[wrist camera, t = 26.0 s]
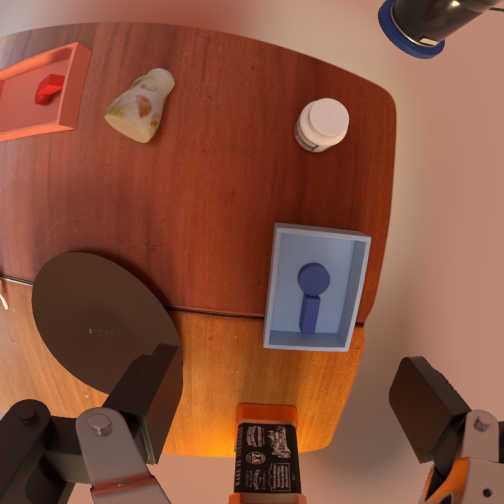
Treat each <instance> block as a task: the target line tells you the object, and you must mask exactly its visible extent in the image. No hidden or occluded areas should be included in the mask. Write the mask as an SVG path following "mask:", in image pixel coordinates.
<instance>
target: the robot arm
mask: <svg viewBox="0 0 504 504" xmlns="http://www.w3.org/2000/svg"><path fill="white" fill-rule="evenodd" d="M501 1H503V0H397V1H396V2H395V3H394V4H393V5H392V6H391V8H390V10H389V16H390V20H391V22H392V24H393V26H394V27H395V29H396V30H397V31H398V32H399V33H400V34H401V35H402V36H403V37H404V38H405V39H406V40H408V41H409V42H411V43H412V44H414V45H416V46H419V47H422V48H433V47H435V46H436V45H438V44H439V43H440V42H441V41H442V40H444V39H445V38H447V37H448V36H450V35H451V34H452V33H454V32H455V31H457V30H458V29H459V28H461V27H463V26H464V25H466V24H467V23H469V22H470V21H471V20H473V19H474V18H476V17H478V16H479V15H481V14H482V13H484V12H485V11H487V10H495V11H502V12H504V9H500V8H493V6H494V5H496V4H498V3H499V2H501ZM182 389H183V372H182V350H181V347H180V346H175V345H169V344H163V343H159V344H158V345H157V347H156V348H155V350H154V351H153V353H152V355H151V356H150V355H145V354H143V355H141V356H139V357H138V358H136V359H135V360H133V361H132V362H131V364H130V365H129V366H128V368H127V369H126V372H124V374H123V375H122V377H121V380H119V381H118V383H117V384H116V386H115V387H114V389H113V390H112V392H111V393H110V395H109V396H108V398H107V399H106V401H105V402H104V404H103V405H102V407H96V408H91V409H88V410H86V411H84V412H83V413H82V414H80V416H79V417H78V418H66V417H58V416H51V414H50V412H49V409H48V408H47V406H46V405H45V404H44V403H42V402H40V401H38V400H33V399H26V400H22V401H19V402H17V403H15V404H14V405H13V406H12V407H11V408H10V409H9V411H8V412H7V413H6V414H5V416H4V417H3V418H2V419H1V420H0V504H67V502H68V499H69V497H70V495H71V493H72V490H73V488H74V486H75V484H76V483H84V484H91V485H92V488H91V489H90V491H91V495H92V499H93V501H94V504H171V502H170V500H169V499H168V497H167V496H166V494H165V492H164V491H163V489H162V488H161V486H160V484H159V482H158V481H157V479H156V478H155V476H153V475H151V473H150V471H149V470H148V468H147V466H146V463H147V464H151V465H155V466H157V464H158V461H159V458H160V455H161V452H162V449H163V446H164V444H165V441H166V438H167V435H168V432H169V429H170V427H171V424H172V421H173V418H174V415H175V412H176V410H177V407H178V404H179V401H180V398H181V395H182ZM389 402H390V405H391V407H392V409H393V411H394V413H395V415H396V417H397V419H398V421H399V423H400V424H401V426H402V428H403V430H404V432H405V434H406V436H407V438H408V440H409V442H410V444H411V446H412V448H413V450H414V452H415V454H416V456H417V458H418V460H419V463H420V464H422V463H426V462H429V461H433V462H434V464H433V466H432V467H431V469H430V471H429V474H428V477H427V480H426V483H425V487H424V489H423V492H422V495H421V498H420V500H419V503H418V504H504V421H503V422H502V421H501V422H497V420H496V418H495V417H494V416H493V415H492V414H490V413H489V412H486V411H484V410H473V411H472V410H471V409H470V407H469V406H468V405H467V404H466V402H465V401H464V400H463V399H462V397H461V396H460V395H459V394H458V393H457V391H456V390H454V388H453V386H452V385H451V384H449V382H448V380H447V379H446V378H445V377H444V376H443V375H442V374H441V373H440V372H438V371H437V370H435V369H434V368H432V367H431V365H430V364H429V363H428V362H427V360H426V359H425V358H424V357H422V356H416V357H405V358H403V359H402V360H401V362H400V365H399V368H398V371H397V373H396V376H395V378H394V381H393V384H392V386H391V388H390V392H389Z"/></svg>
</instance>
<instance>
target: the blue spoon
mask: <svg viewBox="0 0 504 504" xmlns="http://www.w3.org/2000/svg"><path fill="white" fill-rule="evenodd" d="M298 283H299V286H300V288H301V290H302V291H303V292H304V295H303V302H302V308H301V314H300V321H299V327H300V331H301V334H314V333H315V328H316V323H317V318H318V312H319V306H320V301H321V299H320V297H319V295H320V294H322V293H324V292H325V291H326V290H327V288H328V287H329V284H330V275H329V273H328V271H327V270H326V269H325V267H324V266H323V265H321V264H319V263H314V262H313V263H308V264H306V265H304V266H303V267H302V268H301V269H300V271H299V273H298Z"/></svg>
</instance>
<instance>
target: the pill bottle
mask: <svg viewBox="0 0 504 504" xmlns="http://www.w3.org/2000/svg"><path fill="white" fill-rule="evenodd" d="M348 124H349V115H348V112H347V110H346V108H345V107H344V106H343V105H342V104H341V103H340V102H338V101H337V100H334V99H330V98H324V99H320V100H318V101H314V102H311V103H309V104H308V105H307V106H306V107H305V108H304V109H303V110H302V112H301V114H300V116H299V118H298V120H297V122H296V124H295V128H294V134H295V138H296V140H297V142H298V143H299V145H300V146H301V147H303V148H304V149H306V150H308V151H311V152H322V151H325V150H327V149H329V148H330V147H332V146H334V145H335V144H337V143H339V142H340V141H341V140H342V139H343V138H344V136H345V135H346V132H347V128H348Z"/></svg>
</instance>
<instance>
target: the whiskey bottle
mask: <svg viewBox="0 0 504 504" xmlns="http://www.w3.org/2000/svg"><path fill="white" fill-rule="evenodd" d="M297 426H298V421H297V409H296V408H294V407H293V406H287V405H261V404H246V403H242V404H241V405H239V406H237V415H236V430H235V448H234V452H236V462H235V479H234V493H233V494H231V495H230V496H229V504H307V503H306V497H305V496H303V495H302V494H301V482H300V470H299V458H298V447H297V437H296V429H297Z"/></svg>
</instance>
